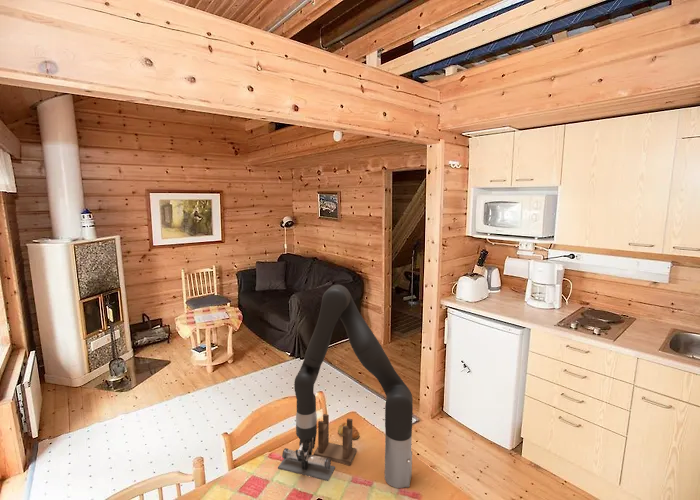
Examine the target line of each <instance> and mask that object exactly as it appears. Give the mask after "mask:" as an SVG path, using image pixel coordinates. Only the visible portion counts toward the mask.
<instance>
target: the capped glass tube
mask: <svg viewBox="0 0 700 500" xmlns="http://www.w3.org/2000/svg"><path fill="white" fill-rule="evenodd" d="M304 456H306V455H305V454H304ZM281 457H282V459H286V458H287V459H291V460H295V461H298V459H297V456H296V450H292V449H290V448H287V447H284V449H283V450H282V455H281ZM308 464H312V465H316V466H320V467H324V468H326V469H329V468H330V465H331V464H332V461H331V458H324V457H319V456H315V455H314V454H312V455H311V454H308ZM331 466H332V465H331Z"/></svg>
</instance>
